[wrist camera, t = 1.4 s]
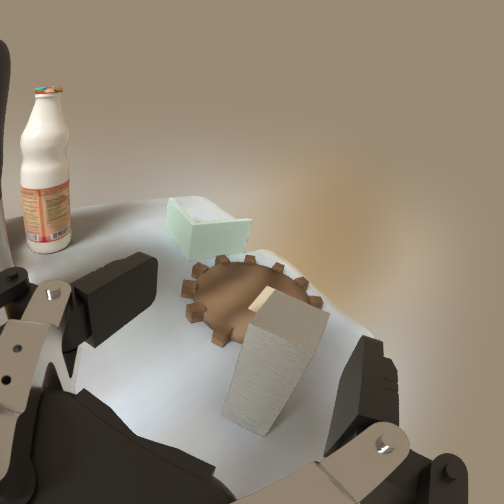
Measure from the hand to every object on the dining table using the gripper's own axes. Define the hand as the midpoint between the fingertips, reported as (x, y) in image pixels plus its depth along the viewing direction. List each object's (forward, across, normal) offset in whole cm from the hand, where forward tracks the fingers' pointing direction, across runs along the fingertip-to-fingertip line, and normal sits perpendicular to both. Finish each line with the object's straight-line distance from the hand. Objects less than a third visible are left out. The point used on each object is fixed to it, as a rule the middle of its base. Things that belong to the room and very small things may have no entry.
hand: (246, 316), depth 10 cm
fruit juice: (+19, +44, +18) cm, 51 cm away
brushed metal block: (+11, 0, +20) cm, 23 cm away
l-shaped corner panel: (+41, +22, +18) cm, 49 cm away
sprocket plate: (+29, +6, +18) cm, 35 cm away
